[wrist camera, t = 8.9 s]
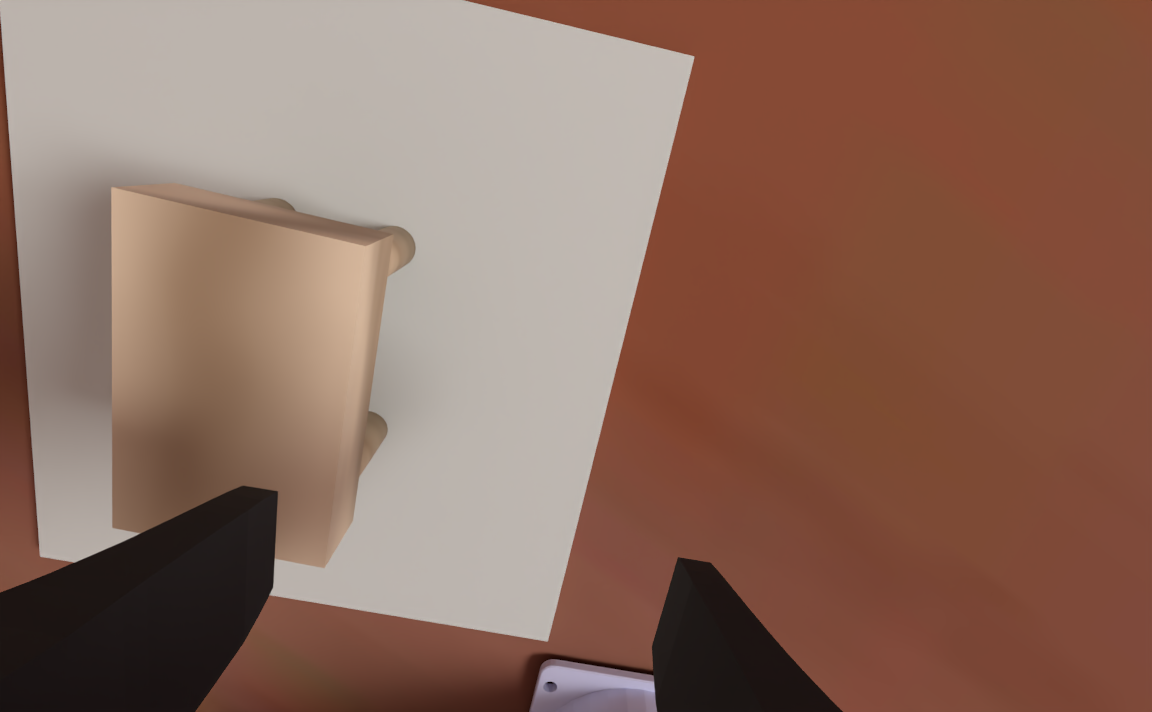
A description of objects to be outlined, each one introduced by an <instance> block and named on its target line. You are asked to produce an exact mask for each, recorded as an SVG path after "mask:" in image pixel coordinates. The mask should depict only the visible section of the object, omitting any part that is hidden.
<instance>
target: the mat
mask: <svg viewBox="0 0 1152 712" xmlns="http://www.w3.org/2000/svg"><path fill="white" fill-rule="evenodd" d="M0 17H1V31H2V44H3V58H4V72H5V85H6V99H7V113H8V126H9V140H10V153H11V167H12V181H13V194H14V208H15V222H16V235H17V249H18V262H19V276H20V290H21V303H22V317H23V330H24V344H25V358H26V371H27V385H28V399H29V412H30V426H31V439H32V453H33V467H34V480H35V494H36V507H37V521H38V535H39V548H40V557H46V558H52V559H58V560H64V561H70V562H77V561H79V560H82V559H84V558H86V557H89V556H91V555H93V554H96V553H98V552H100V551H103V550H105V549H107V548H109V547H112V546H114V545H116V544H119V543H121V542H123V541H125V540H127V539H130V538H132V537H134V536H136V535H138V534H140V533H136V532H130V531H125V530H120V529H115V528H112V236H111V187H122V186H137V185H151V184H166V183H177V184H182V185H186V186H190V187H195V188H199V189H203V190H207V191H212V192H216V193H220V194H224V195H229V196H233V197H237V198H241V199H246V200H250V201H255V200H262V199H269V198H279V199H283V200H285V201H287V202H288V203H289V204H291V205H292V206H293V208H294V209H295V211H297V212H301V213H305V214H310V215H314V216H318V217H322V218H327V219H331V220H335V221H339V222H344V223H348V224H352V225H357V226H361V227H365V228H369V229H374V230H380V229H383V228H385V227H388V226H398V227H401V228H403V229H405V230H406V231H408V232H409V233H410V235H411V236H412V237H413V239H414V242H415V247H416V250H415V255H414V257H413V259H412V260H411V261H410V262H409V263H408V264H407V265H405V266H404V267H402V268H401V269H399V270H397V271H396V272H394V273H393V274H391V275H390V276H388V277H387V284H386V291H385V298H384V305H383V312H382V319H381V326H380V333H379V340H378V347H377V354H376V361H375V368H374V375H373V382H372V390H371V397H370V404H369V411H371V412H374V413H377V414H379V415H380V416H381V417H382V418H383V419H384V420H385V422H386V424H387V428H388V432H387V435H386V437H385V439H384V440H383V442H382V443H381V445H380V447H379V448H378V450H377V451H376V453H375V454H374V456H373V457H372V459H371V460H370V462H369V463H368V465H367V466H366V468H365V469H364V471H363V472H362V474H361V475H360V477H359V481H358V488H357V495H356V502H355V510H354V517H353V522H352V523H351V525H350V527H349V528H348V530H347V532H346V533H345V535H344V537H343V538H342V540H341V542H340V543H339V545H338V547H337V548H336V550H335V552H334V553H333V555H332V557H331V558H330V560H329V562H328V563H327V565H326V567H325V568H321V567H315V566H310V565H305V564H300V563H294V562H289V561H284V560H278V559H275V563H274V583H273V589H272V591H271V593H270V595H273V596H279V597H285V598H291V599H297V600H303V601H309V602H315V603H321V604H327V605H333V606H339V607H345V608H351V609H357V610H363V611H369V612H375V613H381V614H387V615H393V616H398V617H404V618H410V619H416V620H422V621H428V622H434V623H440V624H446V625H452V626H458V627H464V628H470V629H476V630H482V631H488V632H494V633H500V634H506V635H512V636H518V637H524V638H530V639H536V640H542V641H548V639H549V635H550V631H551V627H552V623H553V619H554V615H555V611H556V607H557V603H558V599H559V595H560V591H561V587H562V583H563V579H564V575H565V571H566V567H567V563H568V559H569V555H570V551H571V547H572V543H573V539H574V535H575V531H576V527H577V523H578V519H579V515H580V511H581V507H582V503H583V499H584V495H585V491H586V487H587V483H588V479H589V475H590V471H591V467H592V463H593V459H594V455H595V451H596V447H597V443H598V439H599V435H600V431H601V427H602V423H603V419H604V415H605V411H606V407H607V403H608V399H609V395H610V391H611V387H612V383H613V379H614V375H615V371H616V367H617V363H618V359H619V355H620V352H621V348H622V344H623V340H624V336H625V332H626V328H627V324H628V320H629V316H630V312H631V308H632V304H633V300H634V296H635V292H636V288H637V284H638V280H639V276H640V272H641V268H642V264H643V260H644V256H645V252H646V248H647V244H648V240H649V236H650V232H651V228H652V224H653V220H654V216H655V212H656V208H657V204H658V200H659V196H660V192H661V188H662V184H663V180H664V176H665V172H666V168H667V164H668V160H669V156H670V152H671V148H672V144H673V140H674V136H675V132H676V128H677V124H678V120H679V116H680V112H681V108H682V104H683V100H684V96H685V92H686V88H687V84H688V80H689V76H690V72H691V68H692V64H693V61H694V56H690V55H686V54H682V53H678V52H674V51H670V50H666V49H661V48H657V47H653V46H649V45H645V44H641V43H637V42H633V41H629V40H624V39H620V38H616V37H612V36H608V35H604V34H600V33H596V32H591V31H587V30H583V29H579V28H575V27H571V26H567V25H563V24H559V23H554V22H550V21H546V20H542V19H538V18H534V17H530V16H526V15H522V14H517V13H513V12H509V11H505V10H501V9H497V8H493V7H489V6H484V5H480V4H476V3H472V2H468V1H464V0H0Z"/></svg>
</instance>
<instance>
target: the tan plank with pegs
mask: <svg viewBox="0 0 1152 712" xmlns="http://www.w3.org/2000/svg"><path fill="white" fill-rule="evenodd" d="M111 236H112V528H115V529H120V530H125V531H130V532H136V533H142V532H144V531H146V530H149V529H151V528H153V527H155V526H157V525H159V524H161V523H163V522H165V521H168V520H170V519H172V518H174V517H176V516H178V515H180V514H182V513H184V512H186V511H188V510H190V509H193V508H195V507H197V506H199V505H201V504H203V503H205V502H207V501H209V500H211V499H213V498H215V497H218V496H220V495H222V494H224V493H226V492H228V491H231V490H233V489H236V488H238V487H240V486H249V487H255V488H261V489H267V490H273V491H278V504H277V524H276V543H275V559H278V560H284V561H289V562H294V563H300V564H305V565H310V566H315V567H321V568H325V567H326V565H327V563H328V562H329V560H330V558H331V557H332V555H333V553H334V552H335V550H336V548H337V547H338V545H339V543H340V542H341V540H342V538H343V537H344V535H345V533H346V532H347V530H348V528H349V527H350V525H351V523H352V522H353V517H354V510H355V502H356V495H357V488H358V481H359V477H360V475H361V474H362V472H363V471H364V469H365V468H366V466H367V465H368V463H369V462H370V460H371V459H372V457H373V456H374V454H375V453H376V451H377V450H378V448H379V447H380V445H381V443H382V442H383V440H384V439H385V437H386V435H387V432H388V428H387V424H386V422H385V420H384V419H383V418H382V417H381V416H380V415H379V414H377V413H374V412H371V411H369V404H370V397H371V390H372V382H373V375H374V368H375V361H376V354H377V347H378V340H379V333H380V326H381V319H382V312H383V305H384V298H385V291H386V284H387V277H388V276H390V275H391V274H393V273H394V272H396V271H397V270H399V269H401V268H402V267H404V266H405V265H407V264H408V263H409V262H410V261H411V260H412V259H413V257H414V255H415V250H416V247H415V242H414V239H413V237H412V236H411V235H410V233H409V232H408V231H406V230H405V229H403V228H401V227H398V226H388V227H385V228H383V229H380V230H374V229H369V228H365V227H361V226H357V225H352V224H348V223H344V222H339V221H335V220H331V219H327V218H322V217H318V216H314V215H310V214H305V213H301V212H297V211H295V209H294V208H293V206H292V205H291V204H289V203H288V202H287V201H285V200H283V199H279V198H269V199H262V200H255V201H250V200H246V199H241V198H237V197H233V196H229V195H224V194H220V193H216V192H212V191H207V190H203V189H199V188H195V187H190V186H186V185H182V184H177V183H166V184H151V185H137V186H122V187H111Z"/></svg>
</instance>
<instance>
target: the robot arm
mask: <svg viewBox="0 0 1152 712" xmlns="http://www.w3.org/2000/svg"><path fill="white" fill-rule="evenodd" d="M277 504H278V491H273V490H267V489H261V488H255V487H249V486H240V487H238V488H236V489H233V490H231V491H228V492H226V493H224V494H222V495H220V496H218V497H215V498H213V499H211V500H209V501H207V502H205V503H203V504H201V505H199V506H197V507H195V508H193V509H190V510H188V511H186V512H184V513H182V514H180V515H178V516H176V517H174V518H172V519H170V520H168V521H165V522H163V523H161V524H159V525H157V526H155V527H153V528H151V529H149V530H146V531H144V532H142V533H140V534H138V535H136V536H134V537H132V538H130V539H127V540H125V541H123V542H121V543H119V544H116V545H114V546H112V547H109V548H107V549H105V550H103V551H100V552H98V553H96V554H93V555H91V556H89V557H86V558H84V559H82V560H79V561H77V562H75V563H73V564H70V565H68V566H66V567H63V568H61V569H59V570H56V571H54V572H52V573H49V574H47V575H44V576H42V577H39V578H37V579H34V580H32V581H29V582H27V583H24V584H22V585H19V586H16V587H14V588H11V589H9V590H6V591H3V592H1V593H0V712H195V711H196V710H197V708H198V707H199V705H200V704H201V703H202V701H203V700H204V698H205V697H206V696H207V694H208V693H209V691H210V690H211V689H212V687H213V686H214V684H215V683H216V681H217V680H218V679H219V677H220V676H221V674H222V673H223V671H224V670H225V669H226V667H227V666H228V664H229V663H230V661H231V660H232V659H233V657H234V656H235V654H236V653H237V651H238V650H239V648H240V647H241V646H242V644H243V643H244V641H245V639H246V637H247V636H248V634H249V632H250V630H251V628H252V627H253V625H254V623H255V621H256V619H257V618H258V616H259V614H260V612H261V610H262V608H263V606H264V604H265V602H266V601H267V599H268V597H269V595H270V593H271V591H272V589H273V583H274V563H275V543H276V524H277ZM652 654H653V673H654V675H648V674H642V673H636V672H630V671H624V670H617V669H611V668H605V667H599V666H593V665H587V664H581V663H575V662H569V661H563V660H557V659H550V660H547V661H545V662H544V663H542V665H541V667H540V670H539V674H538V678H537V682H536V686H535V690H534V694H533V698H532V702H531V706H530V710H529V712H843V711H842V710H841V709H840V708H838V707H837V706H836V705H835V704H834V703H833V702H832V701H831V700H830V699H829V697H828V696H827V695H826V694H825V693H824V692H823V691H822V690H821V689H820V688H819V687H818V686H817V685H816V684H815V683H814V682H813V681H812V680H811V679H810V678H809V676H808V675H807V674H806V673H805V672H804V671H803V670H802V669H801V668H800V667H799V666H798V665H797V664H796V662H795V661H794V660H793V659H792V658H791V657H790V656H789V655H788V654H787V653H786V651H785V650H784V649H783V648H782V647H781V646H780V645H779V643H778V642H777V641H776V640H775V639H774V638H773V636H772V635H771V634H770V633H769V632H768V631H767V629H766V628H765V627H764V626H763V625H762V624H761V622H760V621H759V620H758V619H757V618H756V616H755V615H754V614H753V613H752V612H751V610H750V609H749V608H748V607H747V605H746V604H745V603H744V602H743V601H742V599H741V598H740V597H739V596H738V595H737V593H736V592H735V591H734V590H733V588H732V587H731V586H730V585H729V584H728V582H727V581H726V580H725V579H724V578H723V576H722V575H721V574H720V573H719V572H718V570H717V569H716V568H715V567H714V566H713V565H712V564H711V563H709V562H703V561H697V560H691V559H685V558H679V557H678V559H677V563H676V566H675V570H674V573H673V577H672V580H671V583H670V587H669V590H668V594H667V597H666V600H665V604H664V607H663V611H662V614H661V618H660V621H659V624H658V628H657V631H656V635H655V638H654V641H653V645H652ZM547 682H554V683H553V684H549V683H547Z"/></svg>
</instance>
